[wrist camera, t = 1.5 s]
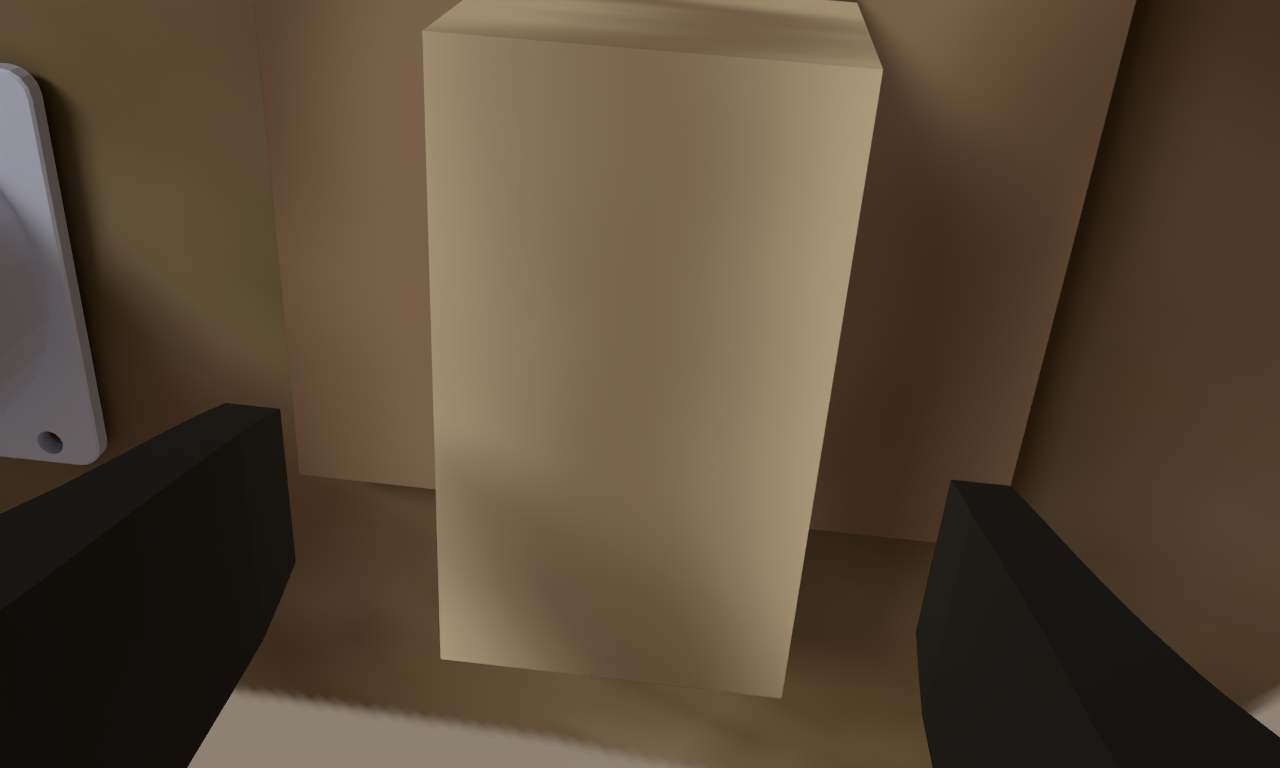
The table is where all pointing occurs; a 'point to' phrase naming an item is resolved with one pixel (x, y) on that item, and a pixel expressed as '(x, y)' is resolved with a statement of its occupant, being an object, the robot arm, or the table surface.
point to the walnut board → (881, 266)
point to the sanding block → (637, 323)
